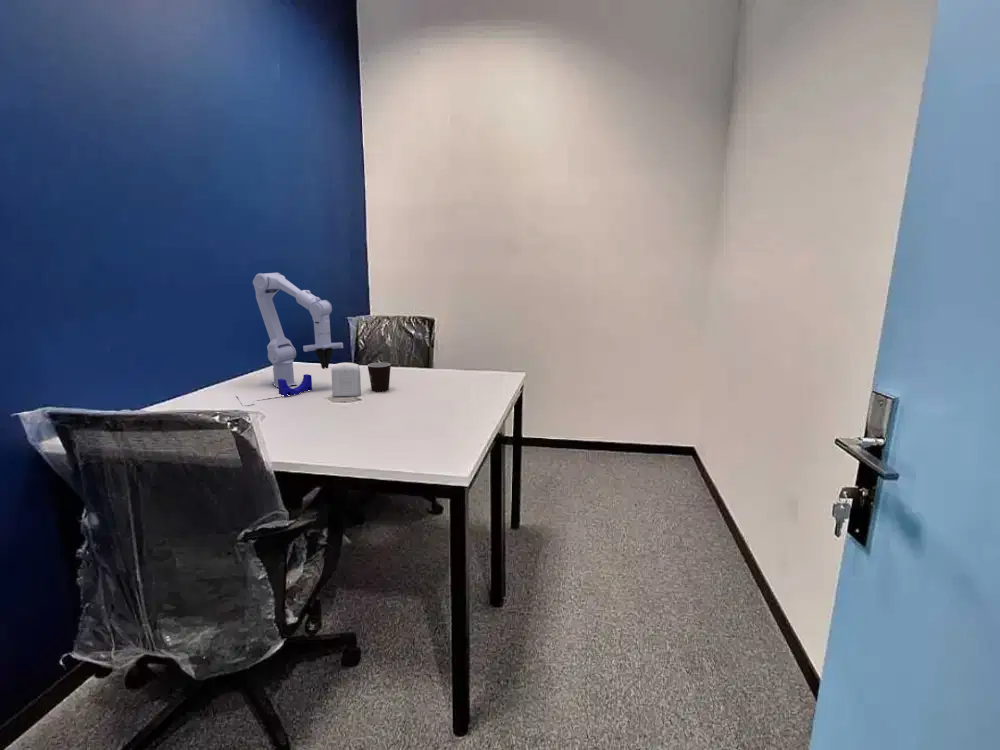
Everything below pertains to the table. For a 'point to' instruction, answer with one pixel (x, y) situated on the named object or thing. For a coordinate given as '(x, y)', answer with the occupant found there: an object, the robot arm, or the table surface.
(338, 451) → the table surface
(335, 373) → the photo printer
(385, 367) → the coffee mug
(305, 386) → the cable clip
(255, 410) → the table surface
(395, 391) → the table surface
